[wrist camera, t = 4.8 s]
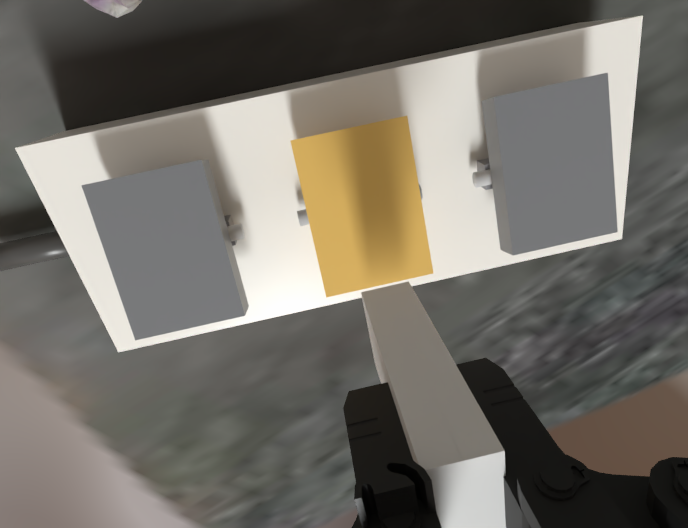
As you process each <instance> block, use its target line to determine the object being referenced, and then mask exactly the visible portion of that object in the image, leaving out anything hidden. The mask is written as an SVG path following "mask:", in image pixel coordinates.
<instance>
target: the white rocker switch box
mask: <svg viewBox="0 0 688 528" xmlns="http://www.w3.org/2000/svg"><path fill="white" fill-rule="evenodd" d="M642 20H643V15H642V16H633V17H625V18H616V19H607V20H598V21H589V22H580V23H574V24H570V25H565V26H560V27H556V28H551V29H546V30H541V31H537V32H532V33H527V34H522V35H518V36H513V37H508V38H503V39H499V40H494V41H489V42H484V43H480V44H475V45H470V46H465V47H461V48H456V49H451V50H446V51H442V52H437V53H432V54H427V55H423V56H418V57H413V58H408V59H404V60H399V61H394V62H390V63H385V64H380V65H375V66H371V67H366V68H361V69H356V70H352V71H347V72H342V73H337V74H333V75H328V76H323V77H318V78H314V79H309V80H304V81H299V82H295V83H290V84H285V85H280V86H276V87H271V88H266V89H261V90H257V91H252V92H247V93H242V94H238V95H233V96H228V97H224V98H219V99H214V100H209V101H205V102H200V103H195V104H190V105H186V106H181V107H176V108H171V109H167V110H162V111H157V112H152V113H148V114H143V115H138V116H133V117H129V118H124V119H119V120H114V121H110V122H105V123H100V124H95V125H91V126H86V127H81V128H76V129H72V130H67V131H63V132H61V133H58V134H55V135H52V136H49V137H46V138H43V139H40V140H37V141H34V142H31V143H28V144H25V145H23V146H20V147H17V148H15V149H16V151H17V153H18V155H19V157H20V159H21V161H22V163H23V165H24V167H25V169H26V171H27V173H28V175H29V177H30V179H31V181H32V183H33V185H34V187H35V189H36V190H37V192H38V194H39V196H40V198H41V200H42V202H43V204H44V206H45V208H46V210H47V212H48V214H49V216H50V218H51V220H52V222H53V224H54V226H55V228H56V230H57V231H55V232H50V233H45V234H41V235H36V236H32V237H27V238H22V239H18V240H13V241H9V242H4V243H0V271H3V270H8V269H12V268H17V267H22V266H26V265H31V264H35V263H40V262H44V261H49V260H54V259H58V258H63V257H67V256H70V258H71V260H72V262H73V264H74V266H75V267H76V269H77V271H78V273H79V275H80V277H81V279H82V281H83V283H84V285H85V287H86V289H87V291H88V293H89V295H90V297H91V299H92V301H93V303H94V305H95V307H96V309H97V311H98V313H99V315H100V317H101V319H102V321H103V323H104V325H105V327H106V329H107V331H108V333H109V335H110V337H111V339H112V341H113V343H114V344H115V346H116V348H117V350H118V352H122V351H127V350H131V349H135V348H140V347H144V346H149V345H153V344H158V343H162V342H167V341H171V340H175V339H180V338H184V337H189V336H193V335H198V334H202V333H206V332H211V331H215V330H220V329H224V328H229V327H233V326H238V325H242V324H246V323H251V322H255V321H260V320H264V319H269V318H273V317H278V316H282V315H286V314H291V313H295V312H300V311H304V310H309V309H313V308H317V307H322V306H326V305H331V304H335V303H340V302H344V301H349V300H353V299H357V298H362V295H361V292H364V291H369V290H373V289H378V288H382V287H386V286H391V285H395V284H400V283H404V282H408V281H409V283H410V285H411V286H415V285H420V284H424V283H428V282H433V281H437V280H442V279H446V278H451V277H455V276H460V275H464V274H468V273H473V272H477V271H482V270H486V269H491V268H495V267H500V266H504V265H508V264H513V263H517V262H522V261H526V260H531V259H535V258H539V257H544V256H548V255H553V254H557V253H562V252H566V251H571V250H575V249H579V248H584V247H588V246H593V245H597V244H602V243H606V242H611V241H615V240H619V239H622V232H623V221H624V211H625V200H626V189H627V179H628V168H629V158H630V147H631V136H632V126H633V115H634V104H635V94H636V83H637V73H638V62H639V51H640V41H641V30H642ZM603 73H608V83H609V100H610V116H611V132H612V148H613V165H614V181H615V197H616V213H617V229H618V232H616V233H611V234H607V235H602V236H598V237H593V238H589V239H585V240H580V241H576V242H571V243H567V244H562V245H558V246H553V247H549V248H545V249H540V250H536V251H531V252H527V253H522V254H518V255H511V254H509V253H506V252H504V251H502V250H500V242H499V234H498V227H497V219H496V211H495V203H494V195H493V187H492V179H491V172H490V164H489V156H488V148H487V140H486V132H485V124H484V117H483V109H482V101H483V100H486V99H489V98H492V97H496V96H500V95H505V94H510V93H514V92H519V91H524V90H528V89H533V88H538V87H542V86H547V85H552V84H556V83H561V82H566V81H570V80H575V79H580V78H584V77H589V76H594V75H598V74H603ZM402 116H407V117H408V123H409V129H410V135H411V141H412V147H413V153H414V159H415V165H416V171H417V177H418V183H419V189H420V195H421V201H422V207H423V213H424V219H425V225H426V231H427V237H428V243H429V249H430V255H431V261H432V267H433V274H429V275H424V276H420V277H416V278H411V279H407V280H402V281H398V282H393V283H389V284H384V285H380V286H375V287H371V288H367V289H362V290H358V291H353V292H349V293H344V294H340V295H335V296H331V297H327V298H326V294H325V289H324V285H323V281H322V276H321V272H320V268H319V263H318V259H317V255H316V250H315V246H314V242H313V237H312V233H311V229H310V224H309V220H308V216H307V211H306V207H305V202H304V198H303V194H302V189H301V185H300V181H299V176H298V172H297V168H296V163H295V159H294V155H293V150H292V146H291V142H290V141H291V140H295V139H300V138H305V137H309V136H314V135H319V134H323V133H328V132H333V131H337V130H342V129H347V128H351V127H356V126H361V125H365V124H370V123H375V122H379V121H384V120H389V119H393V118H398V117H402ZM197 160H209V163H210V167H211V170H212V174H213V177H214V181H215V185H216V188H217V192H218V196H219V199H220V203H221V206H222V210H223V214H224V217H225V221H226V225H227V228H228V232H229V236H230V239H231V243H232V246H233V250H234V254H235V257H236V261H237V265H238V268H239V272H240V275H241V279H242V283H243V286H244V290H245V294H246V297H247V301H248V304H249V307H248V310H247V312H246V315H245V316H242V317H238V318H233V319H229V320H224V321H220V322H215V323H211V324H206V325H202V326H197V327H193V328H189V329H184V330H180V331H175V332H171V333H166V334H162V335H157V336H153V337H149V338H144V339H140V340H135V338H134V335H133V332H132V330H131V327H130V324H129V321H128V318H127V315H126V312H125V309H124V307H123V304H122V301H121V298H120V295H119V292H118V289H117V286H116V284H115V281H114V278H113V275H112V272H111V269H110V266H109V263H108V260H107V258H106V255H105V252H104V249H103V246H102V243H101V240H100V237H99V235H98V232H97V229H96V226H95V223H94V220H93V217H92V214H91V212H90V209H89V206H88V203H87V200H86V197H85V194H84V191H83V189H82V186H81V185H85V184H90V183H95V182H99V181H104V180H109V179H113V178H118V177H123V176H127V175H132V174H137V173H141V172H146V171H151V170H155V169H160V168H165V167H169V166H174V165H179V164H183V163H188V162H193V161H197Z"/></svg>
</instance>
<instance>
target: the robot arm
mask: <svg viewBox="0 0 688 528" xmlns="http://www.w3.org/2000/svg"><path fill="white" fill-rule="evenodd" d="M361 295H362V300H363V305H364V310H365V315H366V320H367V325H368V330H369V335H370V340H371V345H372V350H373V356H374V361H375V365H376V368H377V371H378V375H379V378H380V381H381V384H378V385H374V386H369V387H365V388H361V389H357V390H352V391H349V393H348V396H347V399H346V402H345V405H344V407H343V409H344V415H345V420H346V426H347V432H348V438H349V443H350V449H351V455H352V461H353V467H354V472H355V478H356V485H355V497H354V500H355V504H356V507H357V511H358V515H357V518H356V521H355V522H354V525H353V526H352V528H688V458H679V457H678V458H677V457H672V458H668V459H665V460H661V461H659V462H658V463H657V464H656V465H655V466H654V467H653V468H652V469H651V473H650V477H645V476H627V475H612V474H605V473H599V472H596V471H593V470H590V469H588V468H587V467H586V466H585V465H584V464H583V463H581V462H580V461H578V460H576V459H574V458H572V457H570V456H568V455H565V454H564V453H563V451H562V450H561V449H560V448H559V447H558V446H557V444H556V443H555V441H554V440H553V439H552V437H551V436H550V434H549V433H548V431H547V430H546V429H545V427H544V426H543V424H542V423H541V422H540V420H539V419H538V417H537V416H536V415H535V413H534V412H533V410H532V409H531V408H530V406H529V405H528V403H527V402H526V401H525V400H524V399H523V396H522V395H521V393H520V392H519V391H518V389H517V388H516V387H514V384H513V382H512V381H511V379H510V378H509V377H508V375H507V374H506V372H505V371H504V370H503V369H502V368H501V367H499V366H498V365H496V364H495V363H493V362H492V361H490V360H488V359H487V358H483V359H479V360H474V361H470V362H466V363H462V364H457V365H456V364H455V362H454V360H453V359H452V357H451V355H450V353H449V352H448V350H447V348H446V346H445V345H444V343H443V341H442V339H441V338H440V336H439V334H438V332H437V330H436V329H435V327H434V325H433V323H432V322H431V320H430V318H429V316H428V315H427V313H426V311H425V309H424V307H423V306H422V304H421V302H420V300H419V299H418V297H417V295H416V293H415V292H414V290H413V288H412V286H411V285H410V283H409V281H408V282H404V283H400V284H395V285H391V286H386V287H382V288H378V289H373V290H369V291H364V292H361Z"/></svg>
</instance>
